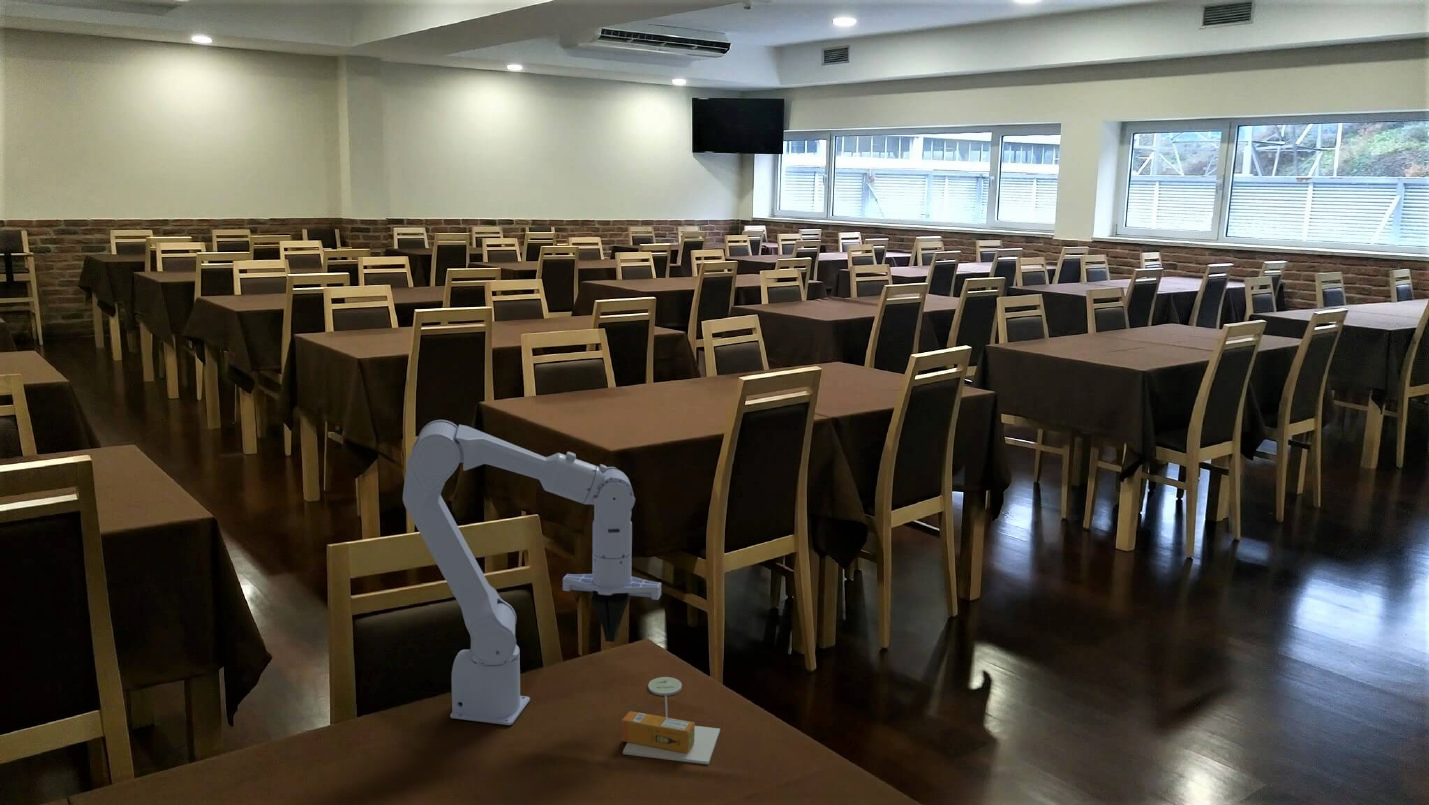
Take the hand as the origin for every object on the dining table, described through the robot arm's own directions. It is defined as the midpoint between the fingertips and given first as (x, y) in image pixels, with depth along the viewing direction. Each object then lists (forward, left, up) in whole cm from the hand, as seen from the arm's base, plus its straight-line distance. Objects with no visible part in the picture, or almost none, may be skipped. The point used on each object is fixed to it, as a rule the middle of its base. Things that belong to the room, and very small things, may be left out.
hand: (611, 638), depth 155 cm
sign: (+8, +2, -11) cm, 14 cm away
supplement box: (+5, -9, -8) cm, 13 cm away
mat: (+12, -9, -10) cm, 18 cm away
